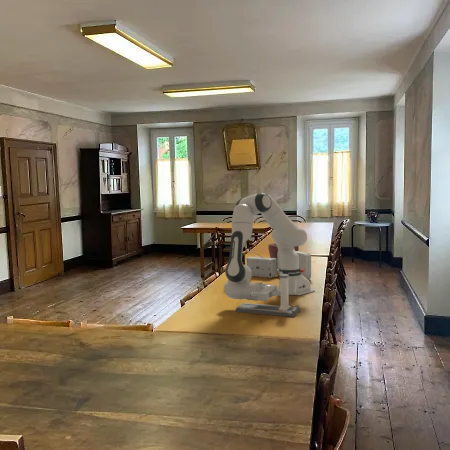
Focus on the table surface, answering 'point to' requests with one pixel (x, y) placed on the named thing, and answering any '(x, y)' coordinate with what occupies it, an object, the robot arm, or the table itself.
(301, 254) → the rounded white slab
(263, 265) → the stereo radio cassette player
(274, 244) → the bucket
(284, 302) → the fader tab
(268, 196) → the robot arm
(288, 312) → the board
